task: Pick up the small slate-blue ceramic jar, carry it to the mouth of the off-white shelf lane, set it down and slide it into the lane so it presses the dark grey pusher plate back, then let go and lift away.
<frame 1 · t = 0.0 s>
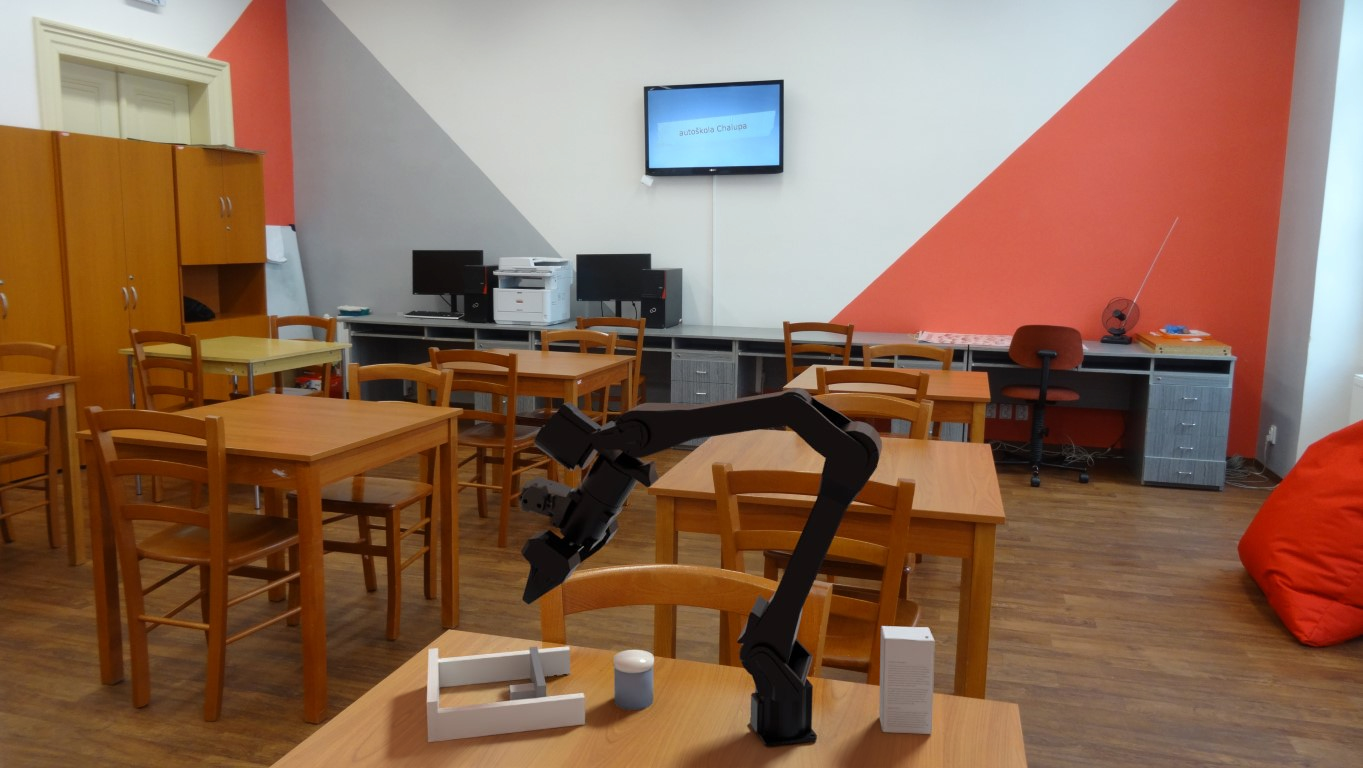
hand: (540, 588, 121), 15 cm above the table, tool tilted 35°, fingers open, 9 cm apart
pusher: (525, 682, 122), point 2 cm above the table, slide at 0.0 cm
jar: (633, 700, 123), on the table
lane: (506, 703, 122), on the table
skincare box: (904, 727, 117), on the table
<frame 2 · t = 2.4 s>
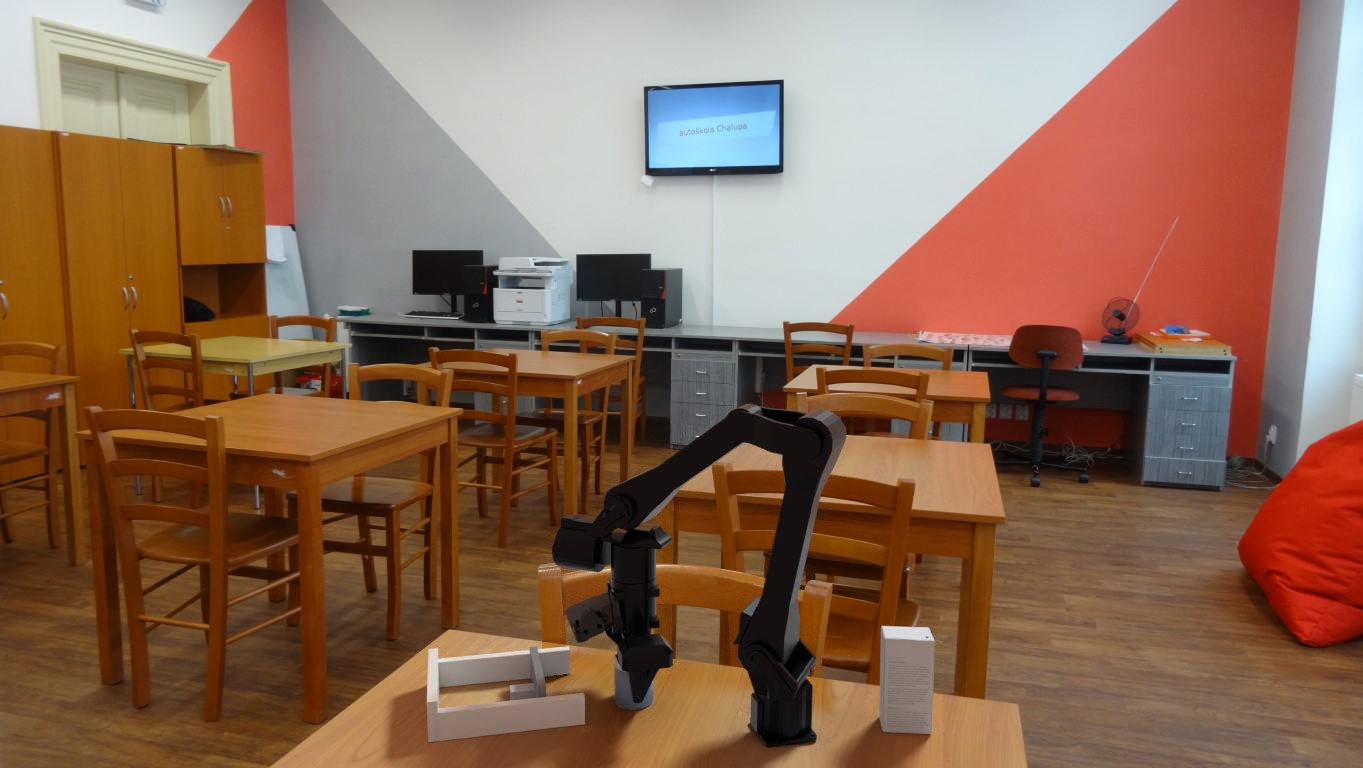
hand: (633, 692, 123), 1 cm above the table, tool pointing down, fingers closed on jar, 5 cm apart
jar: (633, 700, 123), on the table, touching gripper
everything else where it was.
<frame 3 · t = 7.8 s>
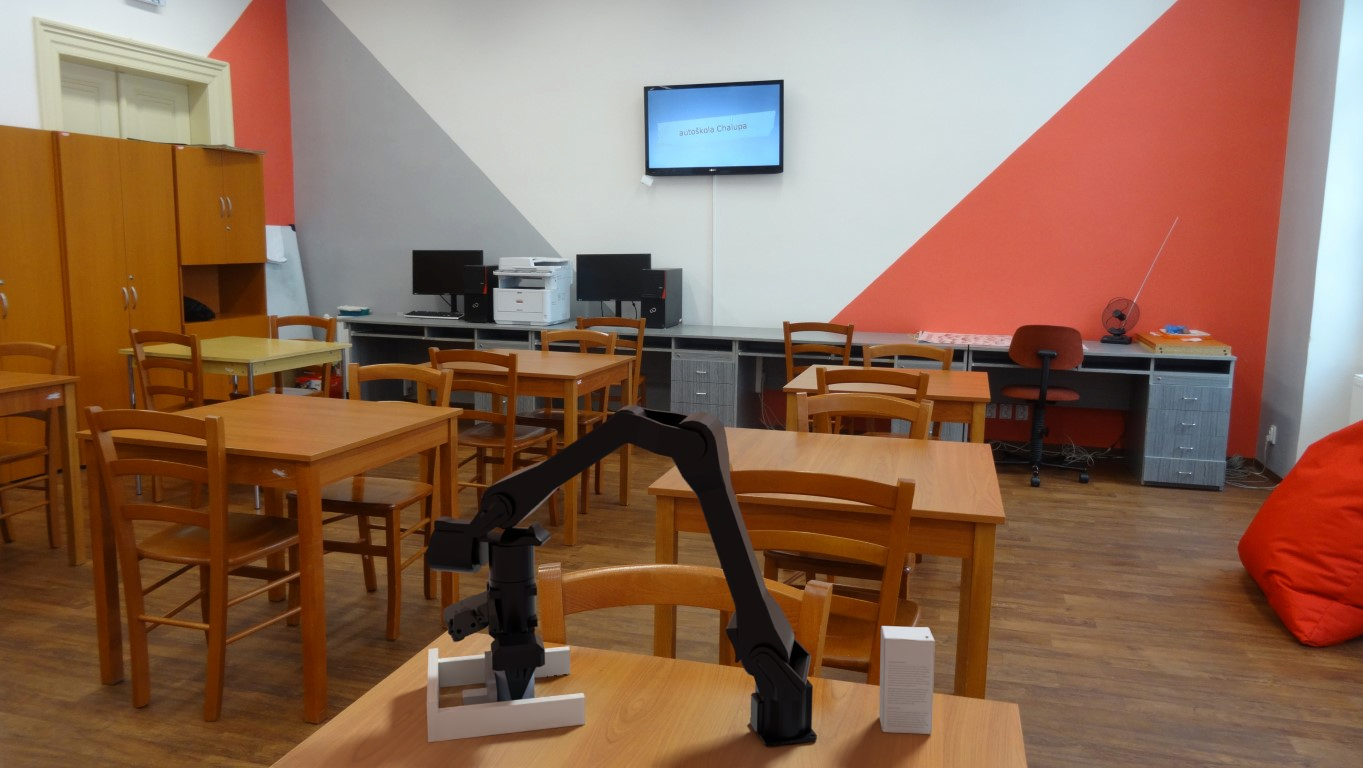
hand: (514, 692, 122), 1 cm above the table, tool pointing down, fingers closed on jar, 5 cm apart
pusher: (478, 687, 121), point 2 cm above the table, slide at 5.9 cm
jar: (515, 699, 122), on the table, touching gripper
everything else where it was.
when the fingers open (1 cm above the table, at t = 8.1 s): jar stays where it is, on the table.
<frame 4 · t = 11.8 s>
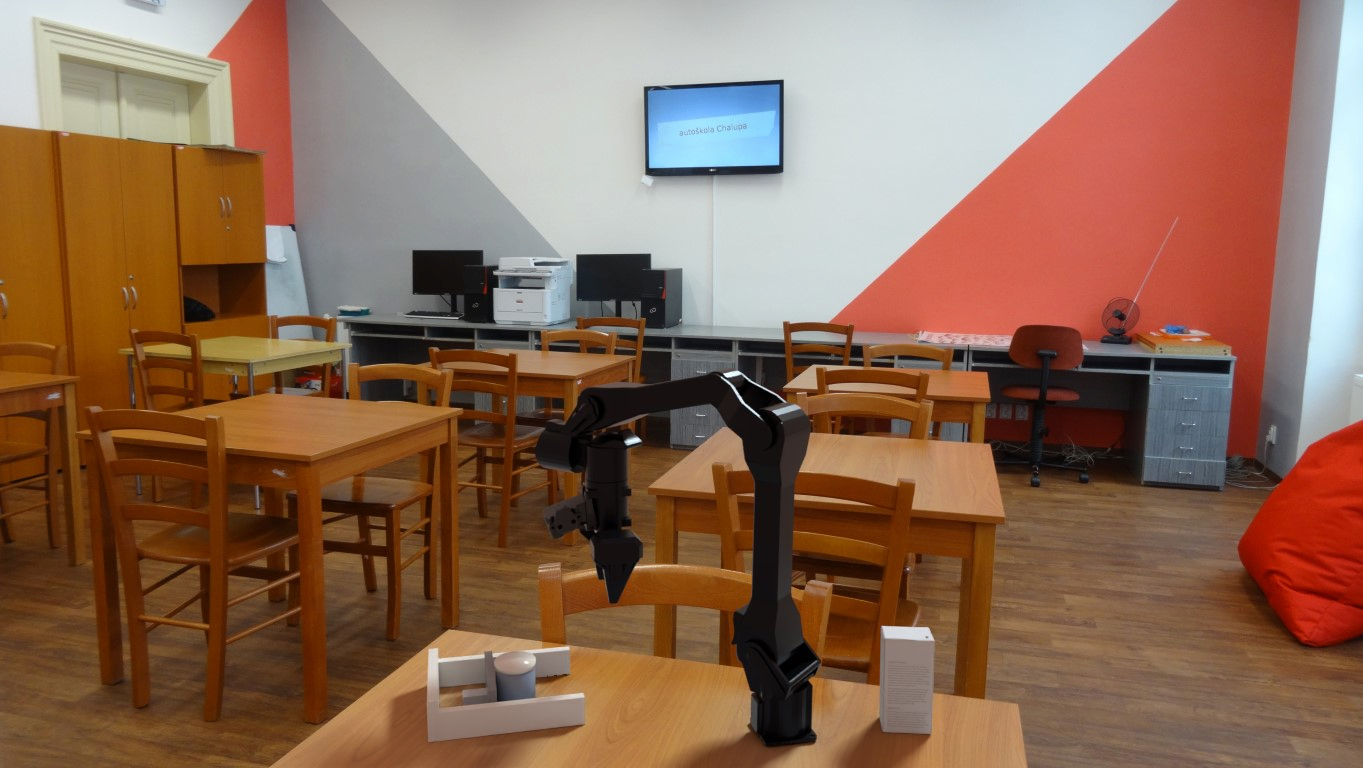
hand: (607, 590, 129), 12 cm above the table, tool pointing down, fingers open, 9 cm apart
jar: (515, 702, 122), on the table
everything else where it was.
at the end: jar inside the target area on the lane (1.8 cm from its centre), point 0.0 cm above the lane's base; pusher slide at 6.0 cm; jar tilted 0° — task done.
